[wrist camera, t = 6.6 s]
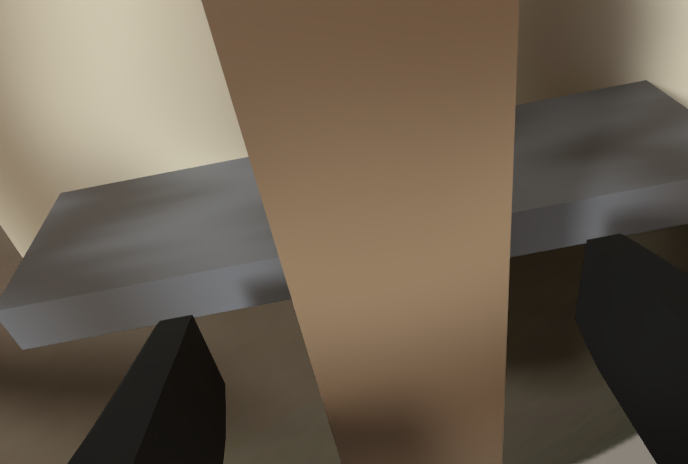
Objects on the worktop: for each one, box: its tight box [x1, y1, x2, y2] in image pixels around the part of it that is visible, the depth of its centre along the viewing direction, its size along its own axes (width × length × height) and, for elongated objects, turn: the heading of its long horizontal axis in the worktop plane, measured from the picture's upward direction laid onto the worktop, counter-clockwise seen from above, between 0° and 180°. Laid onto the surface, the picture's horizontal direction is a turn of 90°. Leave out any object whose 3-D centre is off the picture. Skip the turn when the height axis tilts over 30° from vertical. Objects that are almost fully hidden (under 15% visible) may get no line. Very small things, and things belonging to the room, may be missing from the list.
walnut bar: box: [201, 0, 520, 464], centre depth 10 cm, size 16×3×4 cm, turn 9°
